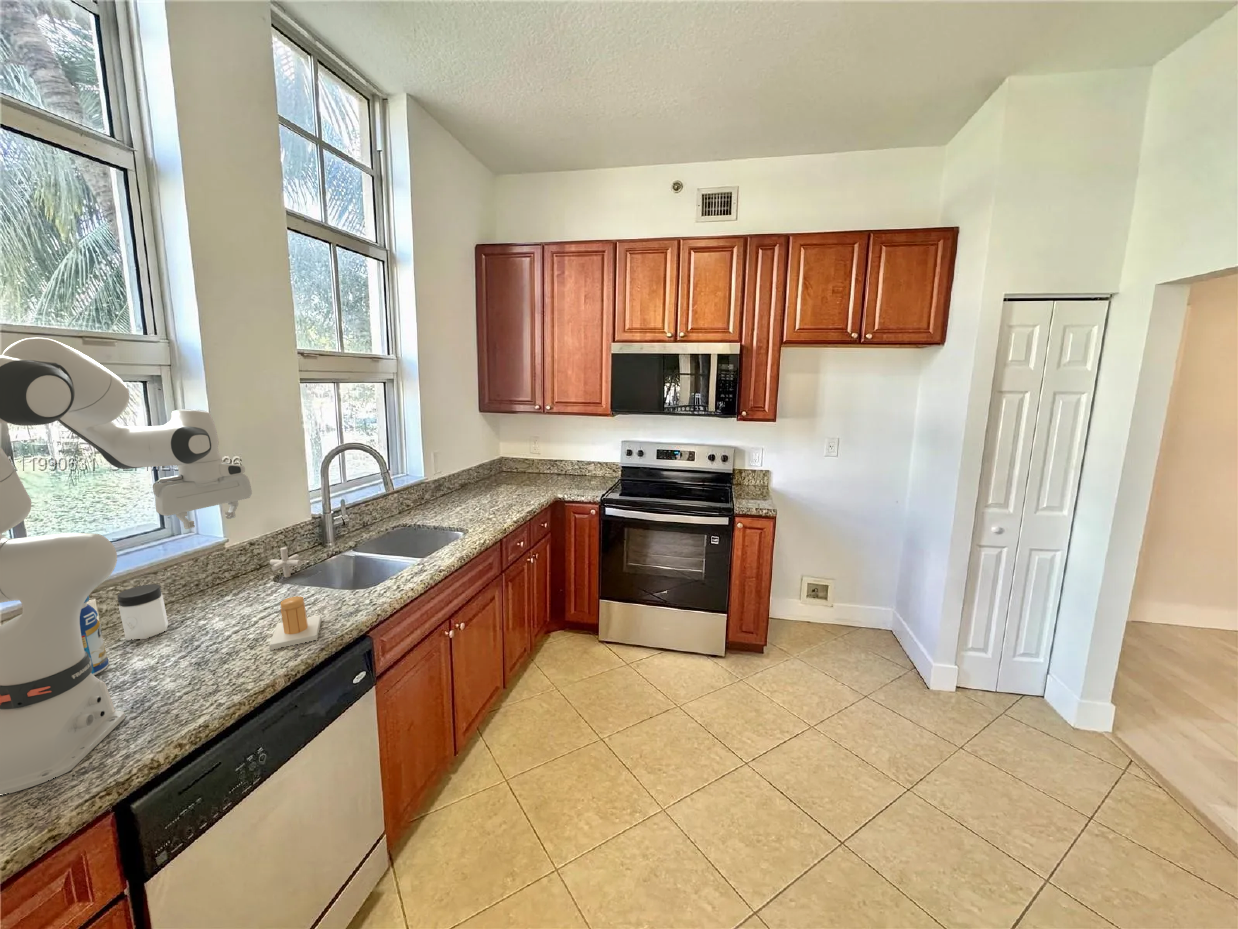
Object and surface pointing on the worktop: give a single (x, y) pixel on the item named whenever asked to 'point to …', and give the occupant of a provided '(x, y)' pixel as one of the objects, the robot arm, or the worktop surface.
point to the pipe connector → (285, 562)
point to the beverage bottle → (93, 638)
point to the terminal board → (306, 635)
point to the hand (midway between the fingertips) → (211, 523)
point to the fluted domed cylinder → (294, 615)
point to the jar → (142, 611)
